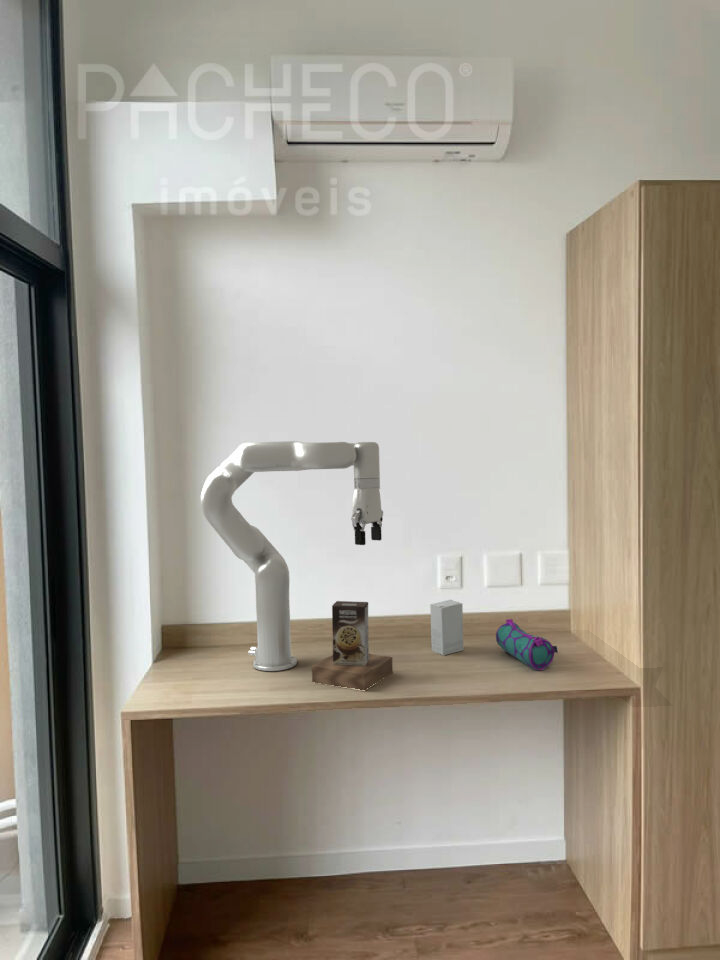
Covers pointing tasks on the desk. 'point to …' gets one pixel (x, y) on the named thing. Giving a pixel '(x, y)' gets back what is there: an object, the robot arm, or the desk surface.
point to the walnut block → (352, 672)
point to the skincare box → (446, 627)
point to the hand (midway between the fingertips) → (368, 542)
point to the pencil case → (525, 646)
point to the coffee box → (350, 633)
